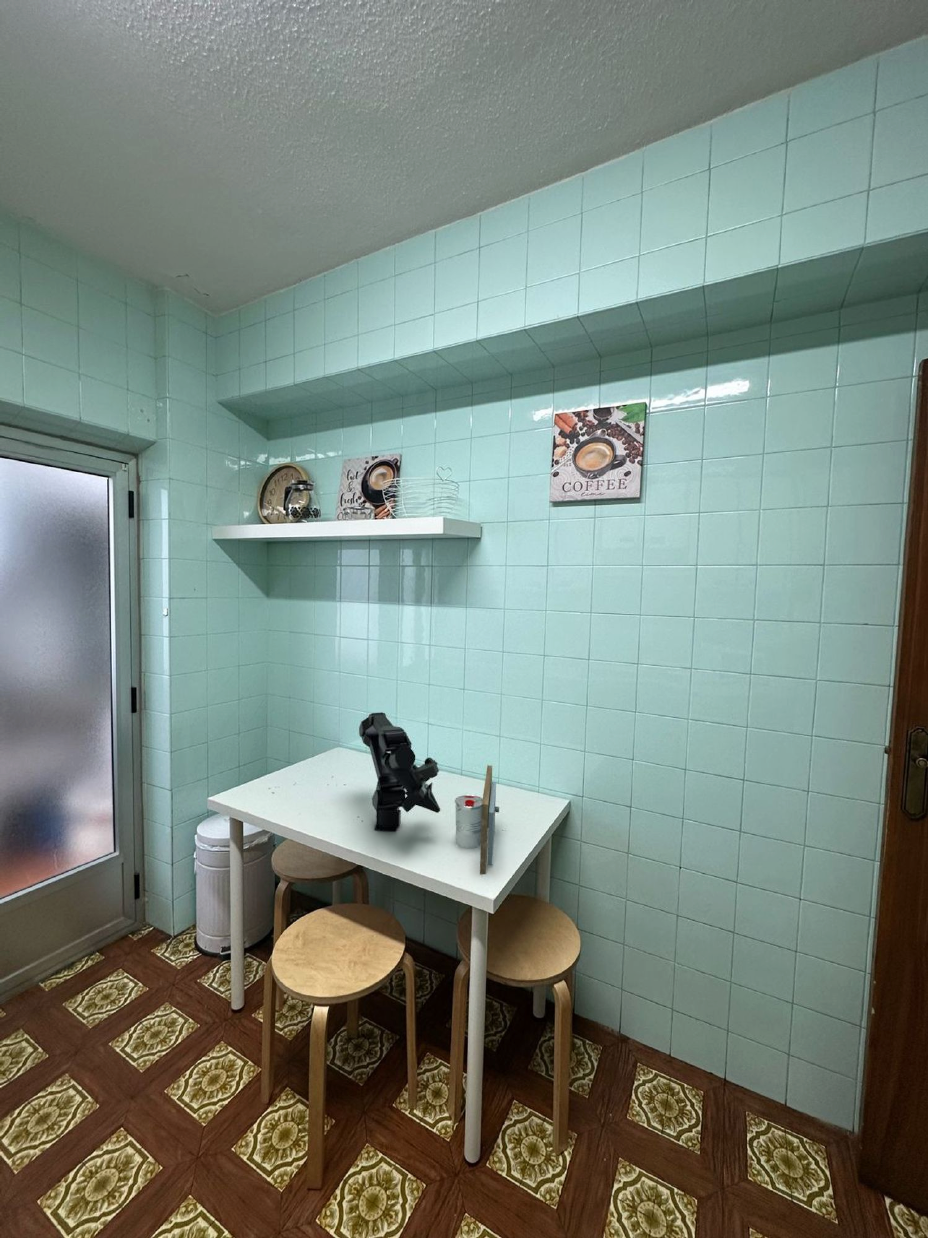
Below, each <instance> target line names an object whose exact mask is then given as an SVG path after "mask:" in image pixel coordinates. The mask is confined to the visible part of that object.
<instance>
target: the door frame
mask: <svg viewBox="0 0 928 1238" xmlns="http://www.w3.org/2000/svg"><path fill="white" fill-rule="evenodd" d="M486 766H487V767H486V772H485V773H486V775H485V780H484V787H483V792H482V793H483V794H482V799H483V800H482V816H481V843H480V854H479V855H480V857H479V858H480V859H479V860H480V861H479V874H480V875H487V866H488V865H487V859H488V825H489V807H490V797H491V788H492V782H493V781H492V780H493V765H490V764H489V765H488V764H487V765H486Z"/></svg>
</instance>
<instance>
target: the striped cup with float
mask: <svg viewBox="0 0 928 1238" xmlns="http://www.w3.org/2000/svg"><path fill="white" fill-rule="evenodd" d="M482 800H483V797H481V796H477V795H475V794H474V795H472V794H465V795H460V796H457V797H456V798H455V799H454V803H455V839H456V840H455V841H456V842H455V843H456V844H457V845H458V846H459V847H461V848H465V849H474V848H477V847H479V846H481V816H482Z"/></svg>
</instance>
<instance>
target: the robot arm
mask: <svg viewBox="0 0 928 1238" xmlns="http://www.w3.org/2000/svg"><path fill="white" fill-rule="evenodd" d="M367 716H368V717H366V718H364V719H363V720H361V721H360V724H359V727H358V734H359V737H360V738H361V741H362V744H364V745H365V746H367V747H368V748H369V751H370V755H371V759H372V762H373V763H372V764H373V766H374V771H375V774H376V778H377V783H376V787H375V790H374V793H373V796H372V798H371V800H372V806H373V809H374V810H375V811H376V814H375V819H376V820H375V821H376V822H375V827H374V831H384V832H397V830H398V828H399V827H400V825H401V820H402V819H401V818H402V815H401V814H402V810H401V809H400V808H402V809H403V810H404V811H405V812H406V813H408V812H410V811H411V810H412V809H413V808H414V807H415V806H418V807H421V808H423V809H425V810H426V809H427V810H429V811H431V812H434V813H437V814H439V812H441V808H440V805H439V803H438V801H437V800H436V797H435V795H434V793H433V790H432V789H433V785H434V784H433V782H431V783H429V784H428V783H427V782H428V781H429V780H431V779H434V778H435V777H437V776H438V773H439V772H440V768H439V767H438V764H439V763H438V762H437V761H436V760H435V759H433V758H432V757H430V756H429V757H427V758H425V760H424V763H423V764H421V766H418V765H416V764H414V763H415V762H416V754H415V752H414V750H413V749H412V741H411V740H410V738H409V736H408V734H407V732H406V731H405V730H404V729H403V728H402V727H401V726H396V725H395V726H394V724H393V723H392V722H391V721H390V720H389V718H387V714H386V713H385V712H383V711H381V712H371V713H369V714H368V715H367Z"/></svg>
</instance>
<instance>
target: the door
mask: <svg viewBox="0 0 928 1238" xmlns="http://www.w3.org/2000/svg"><path fill="white" fill-rule="evenodd" d="M496 790H497V782H496V781H492V788H491V797H490V807H489V825H488V833H487V866H493V857H494V856H493V855H494V842H495V841H494V840H495V828H496V813H500V806H496V802H497V801H496V799H497V798H496V797H497V796H496V795H497V791H496Z"/></svg>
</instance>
